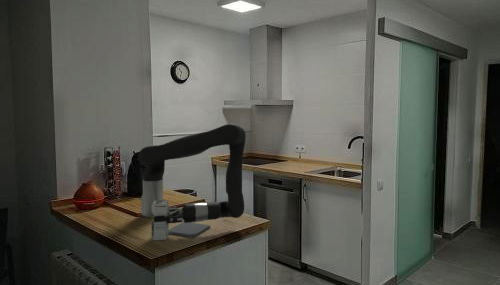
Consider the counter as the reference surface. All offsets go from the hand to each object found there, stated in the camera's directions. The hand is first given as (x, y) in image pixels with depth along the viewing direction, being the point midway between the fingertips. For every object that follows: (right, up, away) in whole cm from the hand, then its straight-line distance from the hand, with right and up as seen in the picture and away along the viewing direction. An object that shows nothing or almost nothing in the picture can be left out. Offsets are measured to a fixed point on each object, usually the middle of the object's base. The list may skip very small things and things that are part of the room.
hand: (153, 216), depth 134 cm
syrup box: (+2, -9, +2) cm, 10 cm away
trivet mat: (+12, -8, +10) cm, 18 cm away
